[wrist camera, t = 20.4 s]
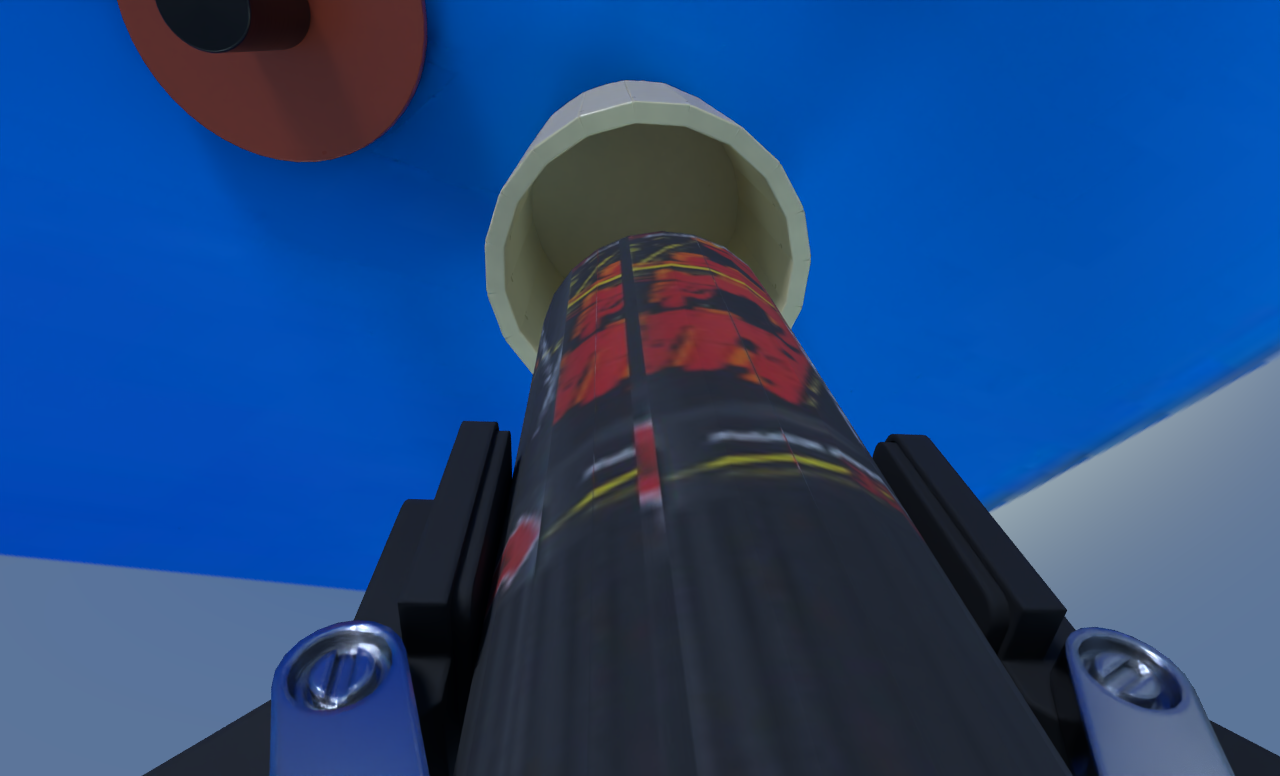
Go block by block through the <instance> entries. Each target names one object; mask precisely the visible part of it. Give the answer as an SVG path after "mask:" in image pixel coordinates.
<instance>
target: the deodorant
mask: <svg viewBox="0 0 1280 776" xmlns="http://www.w3.org/2000/svg"><path fill="white" fill-rule="evenodd" d="M453 776H1073V775H1072V773H1071V772H1070V770H1069V769H1068V767H1067V765H1066V764H1065V762H1064V761H1063V759H1062V758H1061V756H1060V754H1059V753H1058V751H1057V750H1056V748H1055V746H1054V745H1053V743H1052V742H1051V740H1050V739H1049V737H1048V735H1047V734H1046V732H1045V731H1044V729H1043V728H1042V726H1041V724H1040V723H1039V721H1038V720H1037V718H1036V716H1035V715H1034V713H1033V712H1032V710H1031V709H1030V707H1029V705H1028V704H1027V702H1026V701H1025V699H1024V697H1023V696H1022V694H1021V693H1020V691H1019V690H1018V688H1017V686H1016V685H1015V683H1014V682H1013V680H1012V678H1011V677H1010V675H1009V674H1008V672H1007V671H1006V669H1005V667H1004V666H1003V664H1002V663H1001V661H1000V659H999V658H998V656H997V655H996V653H995V652H994V650H993V648H992V647H991V645H990V644H989V642H988V641H987V639H986V637H985V636H984V634H983V633H982V631H981V629H980V628H979V626H978V625H977V623H976V622H975V620H974V618H973V617H972V615H971V614H970V612H969V610H968V609H967V607H966V606H965V604H964V603H963V601H962V599H961V598H960V596H959V595H958V593H957V591H956V590H955V588H954V587H953V585H952V584H951V582H950V580H949V579H948V577H947V576H946V574H945V572H944V571H943V569H942V568H941V566H940V565H939V563H938V561H937V560H936V558H935V557H934V555H933V554H932V552H931V550H930V549H929V547H928V546H927V544H926V542H925V541H924V539H923V538H922V536H921V535H920V533H919V531H918V530H917V528H916V527H915V525H914V523H913V522H912V520H911V519H910V517H909V516H908V514H907V512H906V511H905V509H904V508H903V506H902V504H901V503H900V501H899V500H898V498H897V497H896V495H895V493H894V492H893V490H892V489H891V487H890V485H889V484H888V482H887V481H886V479H885V478H884V476H883V474H882V473H881V471H880V470H879V468H878V467H877V465H876V463H875V462H874V460H873V459H872V457H871V455H870V454H869V452H868V451H867V449H866V448H865V446H864V444H863V443H862V441H861V440H860V438H859V436H858V435H857V433H856V432H855V430H854V429H853V427H852V425H851V424H850V422H849V421H848V419H847V417H846V416H845V414H844V413H843V411H842V410H841V408H840V406H839V405H838V403H837V402H836V400H835V398H834V397H833V395H832V394H831V392H830V391H829V389H828V387H827V386H826V384H825V383H824V381H823V380H822V378H821V376H820V375H819V373H818V372H817V370H816V368H815V367H814V365H813V364H812V362H811V361H810V359H809V357H808V356H807V354H806V353H805V351H804V349H803V348H802V346H801V345H800V343H799V342H798V340H797V338H796V337H795V335H794V334H793V332H792V330H791V329H790V327H789V326H788V324H787V323H786V321H785V319H784V318H783V316H782V315H781V313H780V311H779V310H778V308H777V307H776V305H775V304H774V302H773V300H772V299H771V297H770V296H769V294H768V293H767V291H766V289H765V288H764V287H763V285H762V284H761V282H760V281H759V280H758V278H757V277H756V276H755V274H754V273H753V271H752V270H751V269H750V267H749V266H748V265H747V264H746V263H744V262H743V261H742V260H741V259H739V258H738V257H737V256H735V255H734V254H733V253H732V252H730V251H729V250H728V249H726V248H725V247H724V246H721V245H719V244H716V243H714V242H711V241H709V240H706V239H704V238H701V237H699V236H696V235H693V234H684V233H675V232H666V231H658V232H651V233H644V234H637V235H630V236H627V237H624V238H622V239H619V240H617V241H615V242H612V243H610V244H608V245H605V246H603V247H601V248H598V249H597V250H596V251H594V252H593V253H592V254H591V255H589V256H588V257H587V258H585V259H584V260H583V261H582V262H580V263H579V264H578V265H577V266H575V267H574V268H573V269H572V270H571V271H570V273H569V274H568V275H567V277H566V278H565V280H564V281H563V282H562V284H561V285H560V286H559V288H558V289H557V290H556V292H555V293H554V295H553V298H552V301H551V303H550V306H549V309H548V311H547V314H546V317H545V320H544V323H543V328H542V333H541V338H540V343H539V348H538V353H537V358H536V363H535V368H534V373H533V378H532V383H531V388H530V393H529V398H528V403H527V408H526V413H525V418H524V423H523V428H522V433H521V438H520V443H519V448H518V453H517V458H516V463H515V468H514V473H513V478H512V483H511V488H510V493H509V498H508V503H507V508H506V513H505V518H504V523H503V528H502V533H501V538H500V543H499V548H498V553H497V558H496V563H495V568H494V573H493V578H492V583H491V588H490V593H489V598H488V603H487V608H486V613H485V618H484V623H483V628H482V633H481V638H480V643H479V648H478V653H477V658H476V663H475V668H474V673H473V678H472V683H471V688H470V693H469V698H468V703H467V708H466V713H465V718H464V723H463V728H462V733H461V738H460V743H459V748H458V753H457V758H456V763H455V768H454V773H453Z"/></svg>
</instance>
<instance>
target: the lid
mask: <svg viewBox="0 0 1280 776" xmlns="http://www.w3.org/2000/svg"><path fill="white" fill-rule="evenodd" d="M117 1H118V5H119V8H120V11H121V14H122V18H123V20H124V23H125V25H126V27H127V30H128V32H129V34H130V37H131V39H132V41H133V43H134V45H135V47H136V48H137V50H138V52H139V54H140V56H141V57H142V59H143V61H144V62H145V64H146V65H147V67H148V68H149V70H150V71H151V73H152V74H153V75H154V77H155V78H156V80H157V81H158V82H159V83H160V85H161V86H162V87H163V88H164V89H165V91H166V92H167V93H168V94H169V95H170V96H171V98H172V99H173V100H174V101H175V102H176V103H177V104H179V105H180V106H181V107H182V108H183V109H184V110H185V111H186V112H187V113H188V114H189V115H190V116H192V117H193V118H194V119H195V120H197V121H198V122H199V123H200V124H202V125H203V126H204V127H205V128H207V129H208V130H210V131H212V132H213V133H215V134H216V135H218V136H219V137H221V138H222V139H224V140H226V141H228V142H230V143H232V144H234V145H236V146H238V147H240V148H242V149H245V150H248V151H250V152H253V153H256V154H258V155H261V156H265V157H269V158H274V159H278V160H284V161H293V162H318V161H325V160H331V159H335V158H339V157H342V156H345V155H349V154H351V153H353V152H355V151H357V150H359V149H361V148H364V147H366V146H368V145H369V144H371V143H372V142H374V141H375V140H377V139H378V138H380V137H381V136H382V135H384V134H385V133H386V132H387V131H388V130H389V129H390V128H391V127H392V126H393V125H394V124H395V123H396V122H397V120H398V119H399V118H400V117H401V115H402V114H403V113H404V111H405V110H406V108H407V106H408V105H409V103H410V101H411V99H412V98H413V96H414V94H415V91H416V89H417V86H418V83H419V81H420V78H421V74H422V70H423V66H424V62H425V56H426V47H427V15H426V7H425V0H117Z"/></svg>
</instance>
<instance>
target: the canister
mask: <svg viewBox="0 0 1280 776" xmlns="http://www.w3.org/2000/svg"><path fill="white" fill-rule="evenodd" d="M658 231H666V232H675V233H684V234H693V235H696V236H699V237H701V238H704V239H706V240H709V241H711V242H714V243H716V244H719V245H721V246H724V247H725V248H726V249H728V250H729V251H730V252H732V253H733V254H734V255H735V256H737V257H738V258H739V259H741V260H742V261H743V262H744V263H746V264H747V265H748V266H749V267H750V269H751V270H752V271H753V273H754V274H755V276H756V277H757V278H758V280H759V281H760V282H761V284H762V285H763V287H764V288H765V289H766V291H767V293H768V294H769V296H770V297H771V299H772V300H773V302H774V304H775V305H776V307H777V308H778V310H779V311H780V313H781V315H782V316H783V318H784V319H785V321H786V323H787V324H788V326H789V327H790V329H791V328H792V326H793V324H794V322H795V320H796V318H797V316H798V315H799V313H800V311H801V309H802V305H803V300H804V295H805V290H806V284H807V279H808V273H809V268H810V262H811V260H810V258H811V254H810V247H809V240H808V233H807V226H806V218H805V211H804V210H803V206H802V204H801V202H800V200H799V198H798V196H797V194H796V192H795V190H794V188H793V186H792V184H791V182H790V181H789V179H788V177H787V175H786V173H785V171H784V169H783V167H782V165H781V164H780V162H779V161H778V160H777V159H776V158H775V157H774V156H773V155H772V154H770V153H769V152H768V151H767V150H766V149H765V148H764V147H763V146H762V145H761V144H760V143H759V142H758V141H757V140H756V139H754V138H753V137H752V136H751V135H750V134H749V133H748V132H747V131H746V130H745V129H744V128H743V127H741V126H740V125H738V124H737V123H735V122H734V121H732V120H731V119H729V118H728V117H726V116H725V115H723V114H722V113H720V112H719V111H717V110H716V109H714V108H713V107H711V106H710V105H708V104H707V103H705V102H704V101H702V100H701V99H699V98H697V97H695V96H693V95H690V94H688V93H686V92H683V91H681V90H679V89H677V88H675V87H672V86H670V85H667V84H663V83H658V82H648V81H629V80H624V81H619V82H615V83H610V84H606V85H603V86H600V87H596V88H594V89H591V90H587V91H586V92H583V93H582V94H580V95H579V96H578V97H576V98H574V99H573V100H571V101H570V102H568V103H567V104H566V105H564V106H563V107H562V108H561V109H559V110H558V111H556V112H555V113H554V114H553V115H552V116H551V117H550V118H549V120H548V121H547V123H546V124H545V125H544V127H543V128H542V130H541V131H540V132H539V134H538V135H537V137H536V138H535V139H534V141H533V142H532V143H531V145H530V146H529V148H528V150H527V151H526V153H525V154H524V156H523V157H522V159H521V160H520V162H519V163H518V165H517V167H516V168H515V170H514V171H513V173H512V174H511V176H510V177H509V179H508V181H507V182H506V184H505V185H504V187H503V188H502V190H501V192H500V194H499V196H498V200H497V203H496V206H495V210H494V213H493V216H492V220H491V223H490V226H489V230H488V233H487V236H486V240H485V242H486V243H485V264H486V289H487V293H488V298H489V300H490V303H491V306H492V308H493V311H494V314H495V316H496V319H497V321H498V324H499V327H500V329H501V332H502V335H503V337H504V338H505V340H506V341H507V343H508V344H509V345H510V346H511V348H512V349H513V350H514V351H515V353H516V354H517V355H518V356H519V358H520V359H521V360H522V361H523V363H524V364H525V365H526V366H527V368H528V369H529V370H530V371H531V373H532V374H533V373H534V368H535V363H536V358H537V353H538V348H539V343H540V338H541V333H542V328H543V323H544V320H545V317H546V314H547V311H548V309H549V306H550V303H551V301H552V298H553V295H554V293H555V292H556V290H557V289H558V288H559V286H560V285H561V284H562V282H563V281H564V280H565V278H566V277H567V275H568V274H569V273H570V271H571V270H572V269H573V268H574V267H575V266H577V265H578V264H579V263H580V262H582V261H583V260H584V259H585V258H587V257H588V256H589V255H591V254H592V253H593V252H594V251H596V250H597V249H598V248H601V247H603V246H605V245H608V244H610V243H612V242H615V241H617V240H619V239H622V238H624V237H627V236H630V235H637V234H644V233H651V232H658Z"/></svg>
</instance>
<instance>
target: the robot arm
mask: <svg viewBox="0 0 1280 776" xmlns="http://www.w3.org/2000/svg"><path fill="white" fill-rule="evenodd" d="M872 459H873V460H874V462H875V463H876V465H877V467H878V468H879V470H880V471H881V473H882V474H883V476H884V478H885V479H886V481H887V482H888V484H889V485H890V487H891V489H892V490H893V492H894V493H895V495H896V497H897V498H898V500H899V501H900V503H901V504H902V506H903V508H904V509H905V511H906V512H907V514H908V516H909V517H910V519H911V520H912V522H913V523H914V525H915V527H916V528H917V530H918V531H919V533H920V535H921V536H922V538H923V539H924V541H925V542H926V544H927V546H928V547H929V549H930V550H931V552H932V554H933V555H934V557H935V558H936V560H937V561H938V563H939V565H940V566H941V568H942V569H943V571H944V572H945V574H946V576H947V577H948V579H949V580H950V582H951V584H952V585H953V587H954V588H955V590H956V591H957V593H958V595H959V596H960V598H961V599H962V601H963V603H964V604H965V606H966V607H967V609H968V610H969V612H970V614H971V615H972V617H973V618H974V620H975V622H976V623H977V625H978V626H979V628H980V629H981V631H982V633H983V634H984V636H985V637H986V639H987V641H988V642H989V644H990V645H991V647H992V648H993V650H994V652H995V653H996V655H997V656H998V658H999V659H1000V661H1001V663H1002V664H1003V666H1004V667H1005V669H1006V671H1007V672H1008V674H1009V675H1010V677H1011V678H1012V680H1013V682H1014V683H1015V685H1016V686H1017V688H1018V690H1019V691H1020V693H1021V694H1022V696H1023V697H1024V699H1025V701H1026V702H1027V704H1028V705H1029V707H1030V709H1031V710H1032V712H1033V713H1034V715H1035V716H1036V718H1037V720H1038V721H1039V723H1040V724H1041V726H1042V728H1043V729H1044V731H1045V732H1046V734H1047V735H1048V737H1049V739H1050V740H1051V742H1052V743H1053V745H1054V746H1055V748H1056V750H1057V751H1058V753H1059V754H1060V756H1061V758H1062V759H1063V761H1064V762H1065V764H1066V765H1067V767H1068V769H1069V770H1070V772H1071V773H1072V775H1073V776H1280V757H1279V756H1278V755H1276V754H1274V753H1272V752H1270V751H1268V750H1266V749H1264V748H1262V747H1260V746H1259V745H1257V744H1255V743H1253V742H1251V741H1249V740H1247V739H1245V738H1243V737H1241V736H1239V735H1237V734H1235V733H1233V732H1232V731H1230V730H1228V729H1226V728H1223V727H1222V726H1220V725H1218V724H1216V723H1214V722H1212V721H1210V720H1209V719H1208V717H1207V715H1206V712H1205V710H1204V708H1203V706H1202V704H1201V702H1200V699H1199V697H1198V696H1197V693H1196V691H1195V689H1194V687H1193V686H1192V684H1191V683H1190V681H1189V680H1188V678H1187V677H1186V675H1185V674H1184V673H1183V672H1182V671H1181V670H1180V669H1179V668H1178V667H1177V666H1176V665H1175V664H1174V663H1173V662H1172V661H1171V660H1170V659H1169V658H1167V657H1166V656H1164V655H1163V654H1162V653H1160V652H1159V651H1157V650H1156V649H1154V648H1153V647H1152V646H1150V645H1148V644H1146V643H1144V642H1142V641H1140V640H1138V639H1136V638H1134V637H1132V636H1129V635H1126V634H1124V633H1121V632H1118V631H1115V630H1111V629H1105V628H1098V627H1089V628H1080V629H1078V630H1075V629H1074V628H1073V626H1072V625H1071V624H1070V623H1069V622H1068V620H1067V619H1066V617H1065V614H1066V612H1067V609H1066V608H1065V607H1064V606H1063V604H1062V603H1061V602H1060V601H1059V599H1058V598H1057V597H1056V596H1055V594H1054V593H1053V592H1052V591H1051V589H1050V588H1049V587H1048V586H1047V584H1046V583H1045V582H1044V581H1043V579H1042V578H1041V577H1040V576H1039V574H1038V573H1037V572H1036V571H1035V569H1034V568H1033V567H1032V566H1031V565H1030V563H1029V562H1028V561H1027V560H1026V558H1025V557H1024V556H1023V554H1022V553H1021V552H1020V551H1019V549H1018V548H1017V547H1016V546H1015V545H1014V543H1013V542H1012V541H1011V540H1010V538H1009V537H1008V536H1007V535H1006V533H1005V532H1004V531H1003V530H1002V528H1001V527H1000V526H999V525H998V523H997V522H996V521H995V520H994V518H993V517H992V516H991V515H990V513H989V512H988V511H987V510H986V508H985V507H984V506H983V505H982V503H981V502H980V501H979V500H978V498H977V497H976V496H975V495H974V493H973V492H972V491H971V490H970V488H969V487H968V486H967V485H966V483H965V482H964V481H963V480H962V478H961V477H960V476H959V475H958V473H957V472H956V471H955V470H954V468H953V467H952V466H951V465H950V463H949V462H948V461H947V460H946V458H945V457H944V456H943V455H942V453H941V452H940V451H939V450H938V448H937V447H936V446H935V445H934V443H933V442H932V441H931V440H930V439H929V438H928V437H927V436H925V435H905V434H892V435H890V436H888V438H887V439H886V441H885V442H880V443H878V444H877V446H876V448H875V451H874V454H873V458H872ZM511 483H512V457H511V434H510V431H499V427H498V423H497V422H479V421H463V422H462V424H461V426H460V429H459V432H458V435H457V437H456V440H455V443H454V446H453V449H452V451H451V454H450V457H449V460H448V463H447V465H446V468H445V471H444V474H443V476H442V479H441V482H440V485H439V488H438V490H437V493H436V496H435V499H434V500H422V499H408V500H406V501H405V502H404V504H403V505H402V507H401V509H400V512H399V514H398V516H397V519H396V521H395V524H394V526H393V528H392V531H391V533H390V535H389V538H388V540H387V542H386V545H385V547H384V550H383V552H382V554H381V557H380V559H379V561H378V564H377V566H376V569H375V571H374V573H373V576H372V578H371V580H370V583H369V585H368V588H367V590H366V592H365V595H364V597H363V600H362V602H361V604H360V607H359V609H358V612H357V614H356V616H355V619H354V621H348V622H341V623H336V624H333V625H330V626H328V627H325V628H322V629H320V630H317V631H315V632H314V633H312V634H310V635H309V636H307V637H305V638H304V639H302V640H300V641H299V642H298V643H297V644H296V645H295V646H294V647H293V648H292V649H291V650H290V651H289V652H288V653H287V654H285V656H284V657H283V659H282V661H281V662H280V664H279V665H278V667H277V668H276V670H275V674H274V678H273V682H272V687H271V700H270V701H268V702H266V703H264V704H263V705H261V706H260V707H258V708H256V709H254V710H253V711H251V712H249V713H248V714H246V715H244V716H242V717H241V718H239V719H237V720H236V721H234V722H232V723H231V724H229V725H227V726H226V727H224V728H222V729H221V730H219V731H217V732H215V733H214V734H212V735H210V736H209V737H207V738H205V739H204V740H202V741H200V742H198V743H197V744H195V745H193V746H192V747H190V748H188V749H187V750H185V751H183V752H182V753H180V754H178V755H177V756H175V757H173V758H171V759H170V760H168V761H166V762H165V763H163V764H161V765H160V766H158V767H156V768H155V769H153V770H151V771H149V772H148V773H146V774H144V775H143V776H453V773H454V768H455V763H456V758H457V753H458V748H459V743H460V738H461V733H462V728H463V723H464V718H465V713H466V708H467V703H468V698H469V693H470V688H471V683H472V678H473V673H474V668H475V663H476V658H477V653H478V648H479V643H480V638H481V633H482V628H483V623H484V618H485V613H486V608H487V603H488V598H489V593H490V588H491V583H492V578H493V573H494V568H495V563H496V558H497V553H498V548H499V543H500V538H501V533H502V528H503V523H504V518H505V513H506V508H507V503H508V498H509V493H510V488H511Z"/></svg>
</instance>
